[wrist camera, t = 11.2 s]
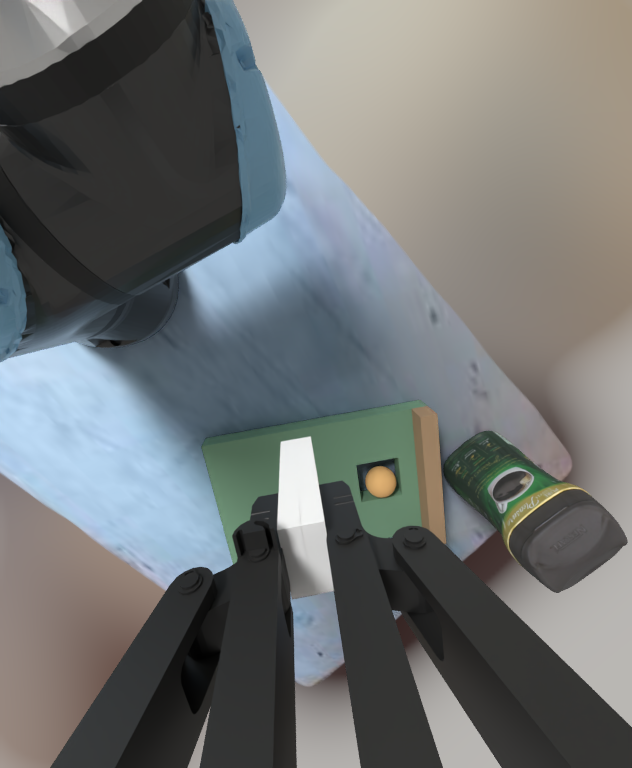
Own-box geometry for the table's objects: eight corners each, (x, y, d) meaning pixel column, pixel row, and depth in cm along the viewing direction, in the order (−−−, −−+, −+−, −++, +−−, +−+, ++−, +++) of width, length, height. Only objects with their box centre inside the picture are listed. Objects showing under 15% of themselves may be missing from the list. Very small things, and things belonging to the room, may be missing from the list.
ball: (357, 491, 45) (387, 497, 42) (363, 460, 46) (392, 464, 44) (369, 496, 48) (397, 502, 46) (375, 468, 49) (402, 472, 47)
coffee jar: (463, 500, 50) (562, 616, 32) (432, 464, 48) (518, 566, 30) (518, 457, 49) (652, 554, 31) (488, 419, 47) (612, 497, 29)
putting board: (236, 553, 49) (230, 585, 44) (205, 438, 44) (194, 458, 39) (429, 517, 50) (446, 543, 45) (419, 399, 45) (437, 414, 40)
